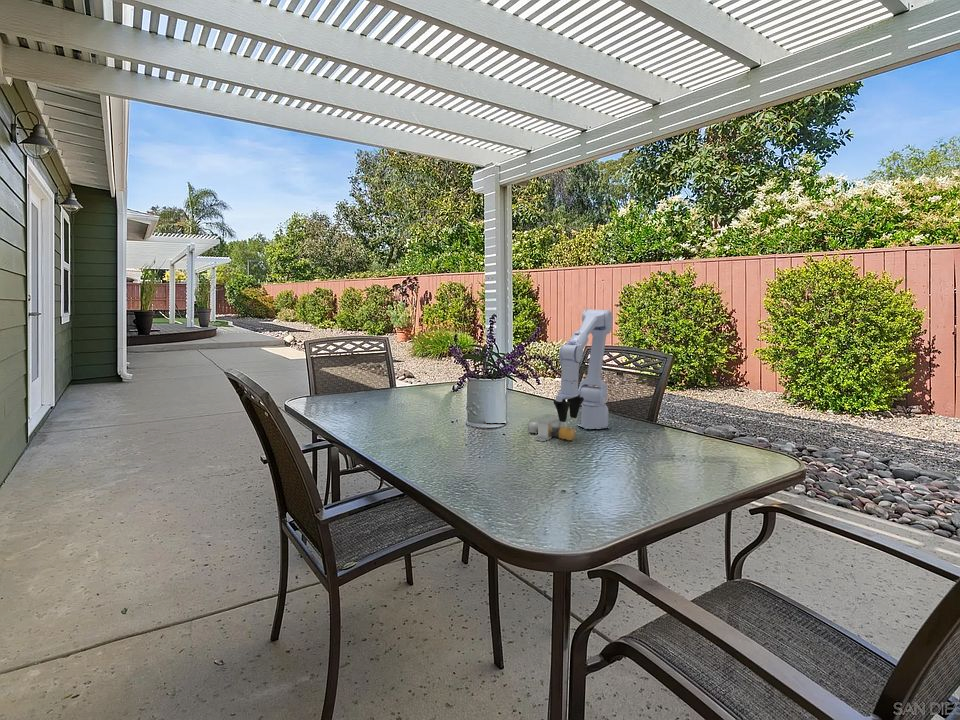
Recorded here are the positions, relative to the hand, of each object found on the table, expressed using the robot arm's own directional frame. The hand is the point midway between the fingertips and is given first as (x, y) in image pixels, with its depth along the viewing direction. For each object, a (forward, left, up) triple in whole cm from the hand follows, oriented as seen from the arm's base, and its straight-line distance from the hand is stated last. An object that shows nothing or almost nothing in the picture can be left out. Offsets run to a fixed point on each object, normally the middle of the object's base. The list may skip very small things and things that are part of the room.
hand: (568, 419), depth 187 cm
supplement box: (+16, -30, -7) cm, 34 cm away
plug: (+4, -5, -7) cm, 10 cm away
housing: (+4, -5, -7) cm, 10 cm away
